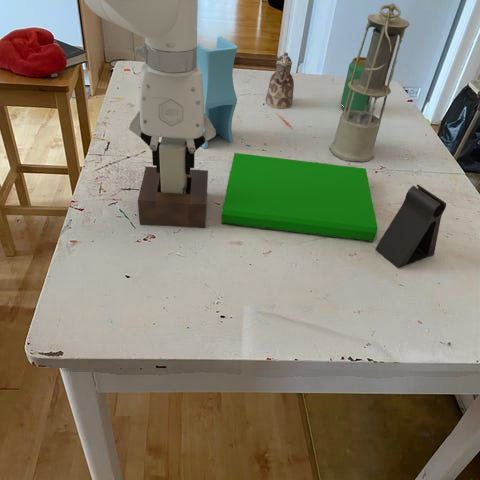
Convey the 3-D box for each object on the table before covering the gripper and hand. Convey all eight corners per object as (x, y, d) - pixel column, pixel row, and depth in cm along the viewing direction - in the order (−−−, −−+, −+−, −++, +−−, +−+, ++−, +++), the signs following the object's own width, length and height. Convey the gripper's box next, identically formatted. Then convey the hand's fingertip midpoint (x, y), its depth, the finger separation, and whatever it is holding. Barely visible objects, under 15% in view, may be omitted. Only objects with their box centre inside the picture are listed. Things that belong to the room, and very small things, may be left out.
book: (233, 165, 102) (234, 152, 100) (362, 181, 102) (365, 168, 100) (221, 224, 87) (222, 210, 85) (373, 243, 87) (378, 229, 84)
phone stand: (410, 237, 89) (434, 179, 80) (433, 255, 85) (461, 197, 77) (374, 249, 85) (395, 190, 77) (397, 268, 82) (422, 209, 73)
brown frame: (139, 224, 85) (137, 200, 81) (147, 189, 93) (145, 166, 89) (205, 228, 86) (206, 204, 82) (207, 193, 94) (208, 170, 90)
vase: (216, 128, 114) (220, 36, 100) (233, 142, 110) (240, 47, 96) (187, 134, 111) (187, 39, 97) (204, 148, 107) (207, 51, 92)
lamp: (375, 147, 114) (419, 2, 93) (369, 171, 106) (416, 17, 84) (333, 138, 116) (367, -7, 94) (324, 161, 107) (358, 7, 86)
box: (184, 215, 87) (185, 149, 78) (161, 213, 87) (158, 147, 78) (187, 200, 91) (188, 135, 82) (164, 198, 91) (162, 133, 81)
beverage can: (366, 117, 127) (379, 69, 118) (337, 111, 128) (348, 63, 119) (370, 106, 132) (383, 60, 123) (342, 100, 133) (352, 54, 125)
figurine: (262, 105, 127) (268, 56, 118) (269, 96, 131) (275, 48, 123) (288, 110, 125) (296, 61, 117) (294, 101, 130) (301, 53, 122)
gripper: (110, 61, 67) (122, 177, 80) (228, 71, 69) (221, 184, 82) (118, 45, 72) (128, 156, 86) (227, 54, 74) (221, 163, 87)
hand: (173, 169), depth 83 cm, fingers closed on box, 4 cm apart
